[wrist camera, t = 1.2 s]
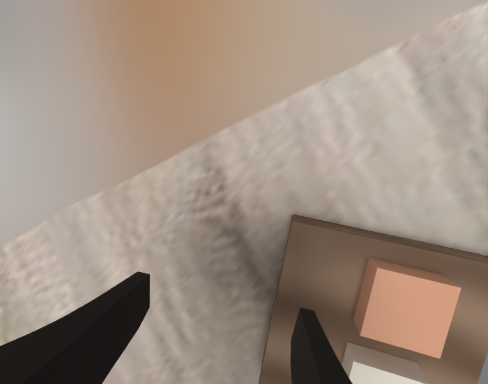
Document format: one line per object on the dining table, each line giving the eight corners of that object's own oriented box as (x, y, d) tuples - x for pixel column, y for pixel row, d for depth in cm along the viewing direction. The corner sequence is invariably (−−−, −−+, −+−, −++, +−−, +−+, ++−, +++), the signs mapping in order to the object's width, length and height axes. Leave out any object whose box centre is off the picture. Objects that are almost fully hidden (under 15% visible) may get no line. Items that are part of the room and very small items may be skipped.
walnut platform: (431, 418, 21) (453, 458, 18) (262, 362, 24) (257, 388, 21) (481, 254, 19) (514, 269, 16) (292, 214, 22) (292, 220, 19)
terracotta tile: (424, 338, 18) (440, 358, 16) (353, 318, 19) (360, 335, 17) (442, 274, 17) (461, 287, 15) (368, 257, 18) (377, 267, 16)
